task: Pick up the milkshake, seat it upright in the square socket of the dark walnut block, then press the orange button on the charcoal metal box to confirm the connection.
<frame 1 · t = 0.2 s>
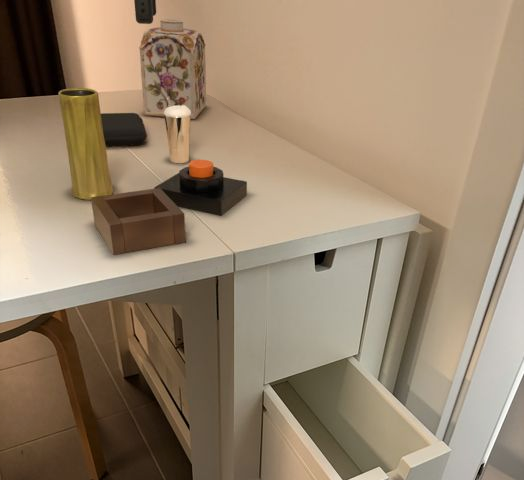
hand: (146, 19, 76), 23 cm above the table, tool pointing down, fingers open, 8 cm apart
milkshake: (178, 161, 99), on the table
button: (201, 169, 82), point 4 cm above the table, slide at 0.1 cm
decorative jar: (176, 112, 125), on the table
confirm box: (201, 198, 84), on the table
vase: (92, 194, 84), on the table
socket: (139, 233, 74), on the table
carrying case: (117, 138, 108), on the table
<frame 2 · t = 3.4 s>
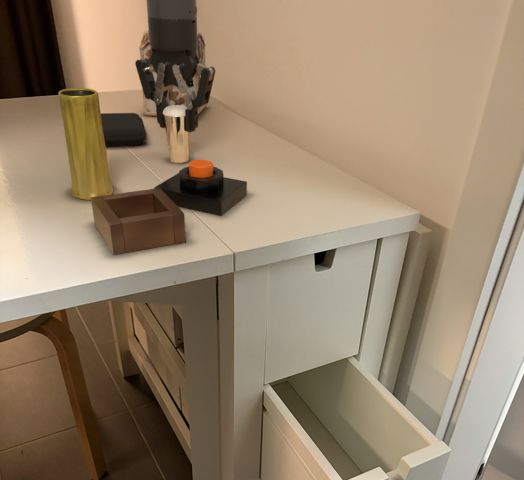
hand: (177, 128, 95), 5 cm above the table, tool pointing down, fingers closed on milkshake, 4 cm apart
milkshake: (178, 160, 99), on the table, touching gripper
everything else where it was.
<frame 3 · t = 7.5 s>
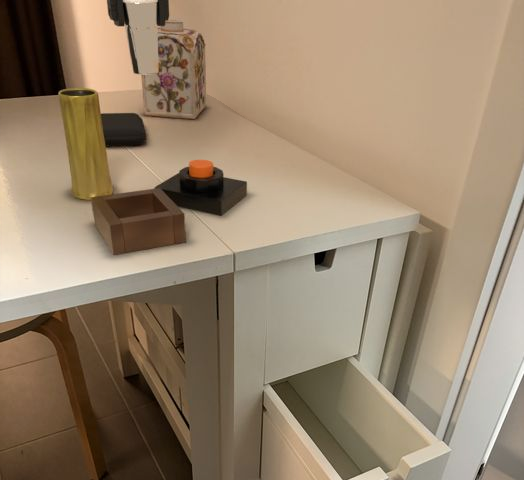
hand: (140, 24, 68), 23 cm above the table, tool pointing down, fingers closed on milkshake, 4 cm apart
milkshake: (142, 74, 72), point 18 cm above the table, touching gripper
everything else where it was.
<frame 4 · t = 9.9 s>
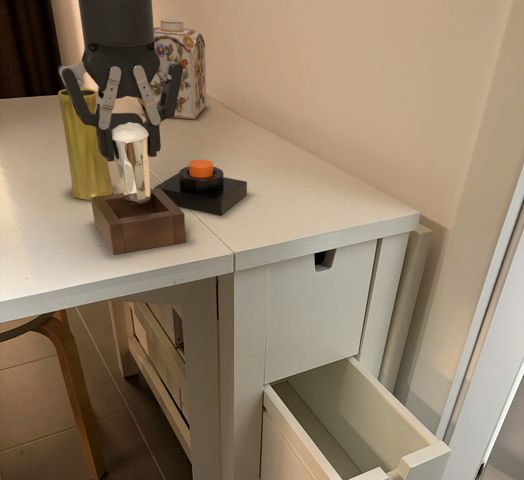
hand: (131, 156, 67), 10 cm above the table, tool pointing down, fingers closed on milkshake, 4 cm apart
milkshake: (134, 200, 71), point 5 cm above the table, touching gripper
everything else where it was.
when the fingers open (5 cm above the table, at t = 11.7 s): milkshake stays where it is, resting in socket.
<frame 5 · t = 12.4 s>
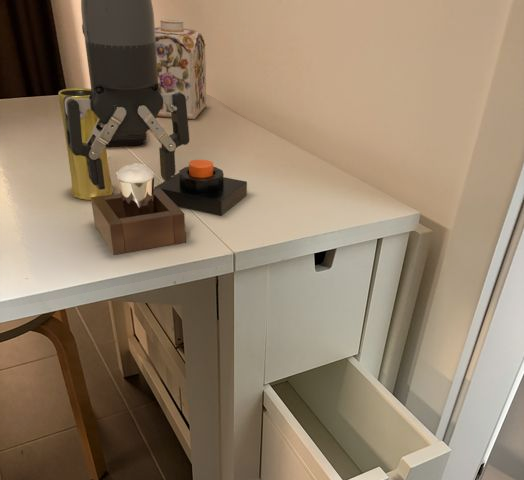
hand: (134, 183, 70), 7 cm above the table, tool pointing down, fingers open, 8 cm apart
milkshake: (138, 235, 74), resting in socket
everything else where it was.
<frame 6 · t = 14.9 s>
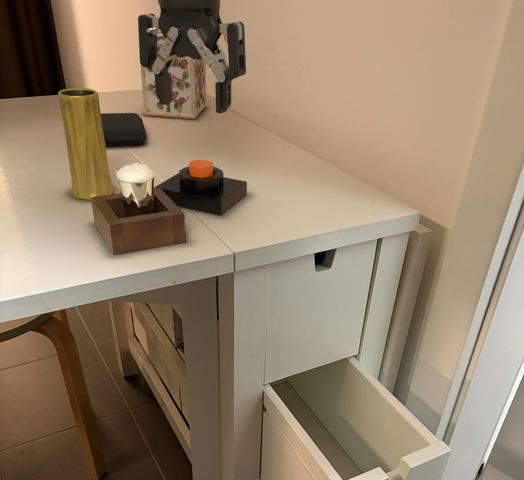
hand: (193, 107, 74), 14 cm above the table, tool pointing down, fingers open, 8 cm apart
nothing on the table moved.
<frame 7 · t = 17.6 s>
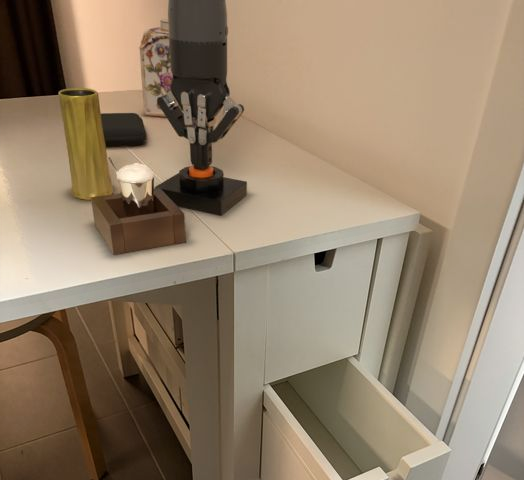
hand: (201, 168, 82), 5 cm above the table, tool pointing down, fingers closed
button: (201, 174, 82), point 4 cm above the table, slide at -0.6 cm, touching gripper
everything else where it was.
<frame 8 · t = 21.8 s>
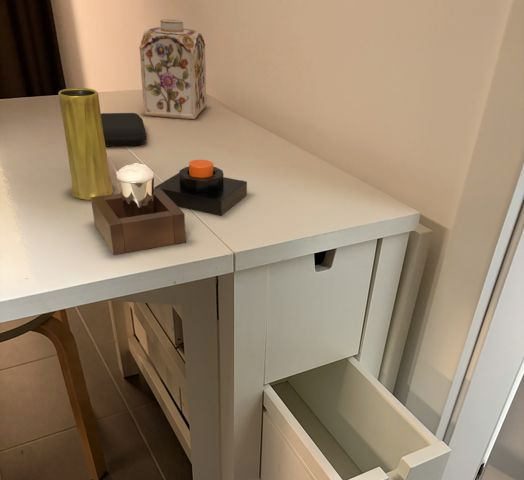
button: (201, 169, 82), point 4 cm above the table, slide at 0.1 cm
everything else where it was.
at the end: milkshake 0.3 cm off-centre in the socket, point 0.0 cm above the socket's base; button pushed in 1.1 cm at the most during the clip, back to where it started at the end; button slide at 0.1 cm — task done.
